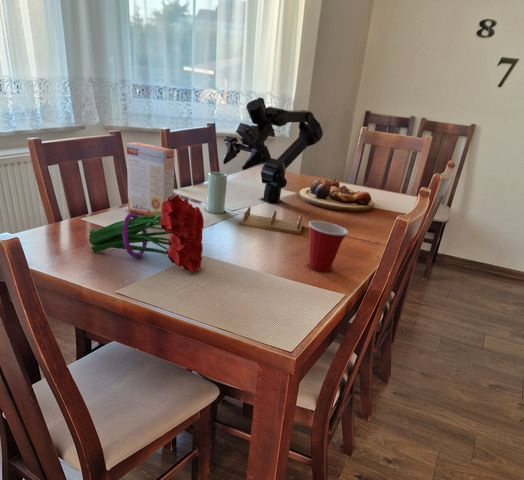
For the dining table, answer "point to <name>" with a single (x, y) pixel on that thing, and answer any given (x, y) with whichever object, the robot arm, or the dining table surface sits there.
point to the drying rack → (272, 223)
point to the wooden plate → (336, 196)
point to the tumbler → (216, 192)
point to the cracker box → (149, 177)
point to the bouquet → (172, 222)
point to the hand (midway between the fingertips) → (233, 166)
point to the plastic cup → (324, 244)
